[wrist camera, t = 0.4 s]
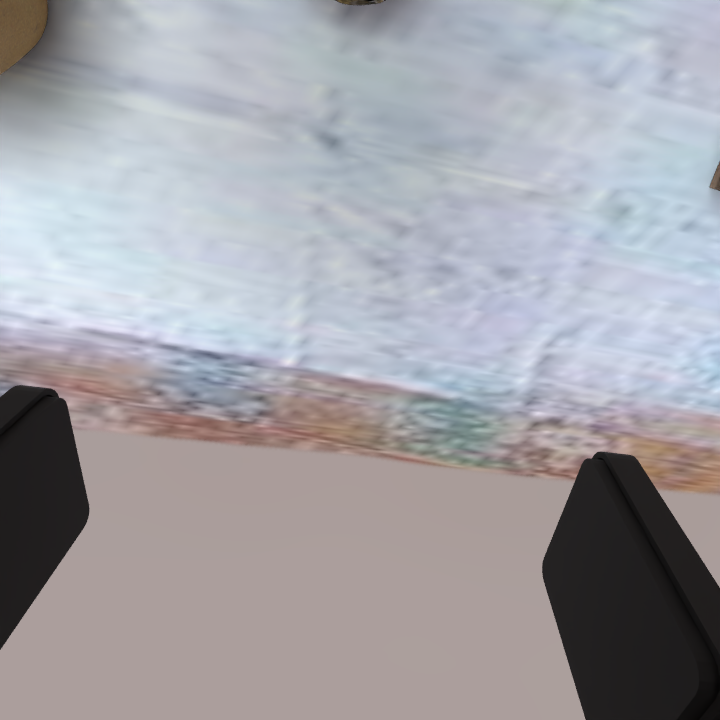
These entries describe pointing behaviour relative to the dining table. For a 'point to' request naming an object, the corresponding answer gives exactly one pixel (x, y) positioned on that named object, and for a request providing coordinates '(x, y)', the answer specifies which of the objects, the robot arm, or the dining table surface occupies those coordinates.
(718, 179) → the cabinet body
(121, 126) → the dining table surface
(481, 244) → the dining table surface
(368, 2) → the dark textured ornament
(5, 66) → the plant pot
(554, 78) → the dining table surface
